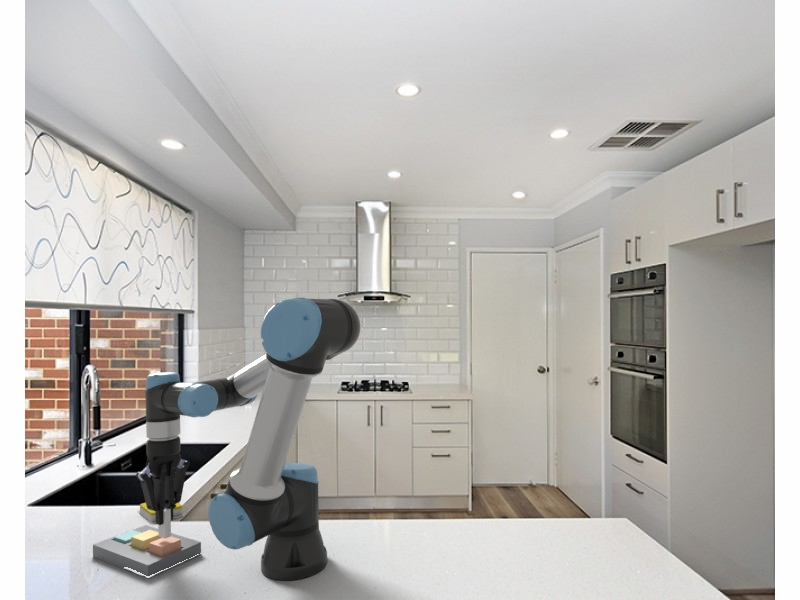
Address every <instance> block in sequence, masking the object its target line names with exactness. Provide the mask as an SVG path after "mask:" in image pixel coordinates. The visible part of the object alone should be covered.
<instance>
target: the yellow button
mask: <svg viewBox="0 0 800 600" xmlns="http://www.w3.org/2000/svg"><path fill="white" fill-rule="evenodd" d="M160 538H162V537H159V535H158V532H156V531H153V530H148V531H145V532H143V533H140V534H137V535H135V536H132V537H131V547H134V548H137V549H139V550H142V551H143V550H145V549H148V548H149V543H150V542H153V541H155V540H158V539H160Z"/></svg>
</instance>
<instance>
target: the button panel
mask: <svg viewBox="0 0 800 600" xmlns="http://www.w3.org/2000/svg"><path fill="white" fill-rule="evenodd" d="M133 530H135V531H138V532H141V533H143V532H145V531H148V530H153V531H156V532H158V527H157V528H156V527H153V526H150V525H147V524H145V525H141V526H139V527H137V528H134V529H133ZM129 531H130V530H129ZM129 531H127V532H129ZM121 534H122V533H121ZM121 534H119V535H121ZM116 536H118V535H116ZM171 536H172V537H175V538H178V539H181V549H180V550H177V551H175V552H173V553H170V554H168V555H166V556H163V557H159V556H156V555H154V554H151V553H149V548H148V549H145V550H143V551H142V550H139V549H137V548H134V547H131V542H129V543H126V544H123V543H120V542H117V541H114V537H115V536H112V537H110V538H107V539H105V540H101V541H99V542H96V543H94V544H92V557H93V558H95V559H97V560H100V561H102V562H105V563H107V564H110V565H113V566H114V567H118V568H120V569H122V568H124V567H128V568H131V569H133V570H136V571H137V572H140V573H142V574H144V575H146V576H150V575H152V574H155V573H157V572H159V571H161V570H164V569H166V568H169V567H171V566H173V565H175V564H177V563H179V562H182V561H184V560H186V559H189V558H191V557H193V556H195V555H197V554H200V553H201V554H202V542H201V541H200V540H199V541H198V540H195V539H192V538H190V537H186V536H182V535H179V534H177V533H173V532H171Z"/></svg>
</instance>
